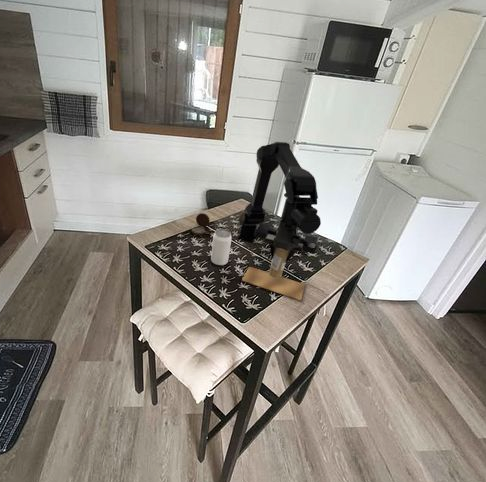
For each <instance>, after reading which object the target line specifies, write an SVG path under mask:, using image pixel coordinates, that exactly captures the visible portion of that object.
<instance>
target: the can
mask: <svg viewBox="0 0 486 482" xmlns="http://www.w3.org/2000/svg"><path fill="white" fill-rule="evenodd" d="M231 246H232V232H231V231H230V230H228V229H227V228H217V229H216V230H215V231H214V233H213V238H212V245H211V255H210V261H211V262H212V264H214V265H216V266H225V265H227V264H228V263H229V259H230V251H231Z"/></svg>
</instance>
